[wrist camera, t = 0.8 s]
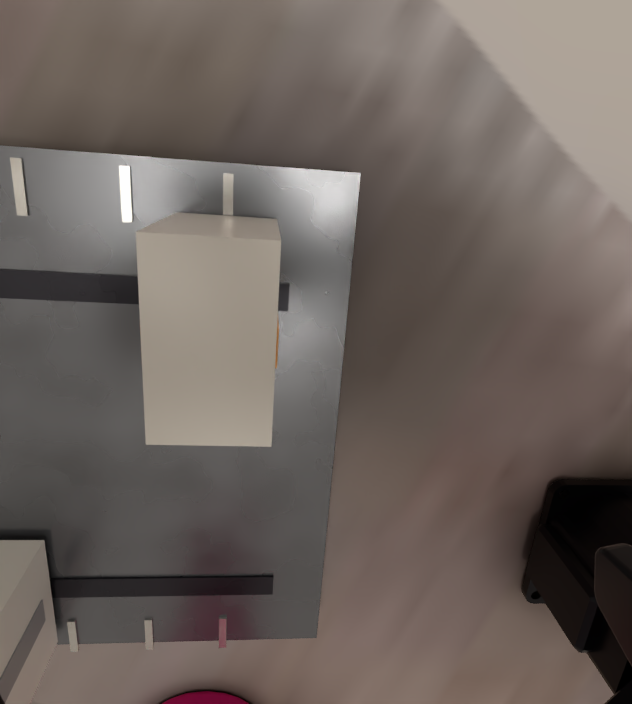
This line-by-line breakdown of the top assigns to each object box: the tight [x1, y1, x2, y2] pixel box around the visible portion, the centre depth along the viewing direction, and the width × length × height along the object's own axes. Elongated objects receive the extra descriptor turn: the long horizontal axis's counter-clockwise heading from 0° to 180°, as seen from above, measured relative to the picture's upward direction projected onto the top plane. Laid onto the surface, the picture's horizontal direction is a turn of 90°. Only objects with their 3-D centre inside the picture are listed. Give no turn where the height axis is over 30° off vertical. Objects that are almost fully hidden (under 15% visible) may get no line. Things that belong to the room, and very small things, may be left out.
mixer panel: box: [0, 145, 361, 652], centre depth 18 cm, size 17×20×2 cm
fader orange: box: [136, 212, 281, 447], centre depth 14 cm, size 3×5×5 cm, turn 176°
